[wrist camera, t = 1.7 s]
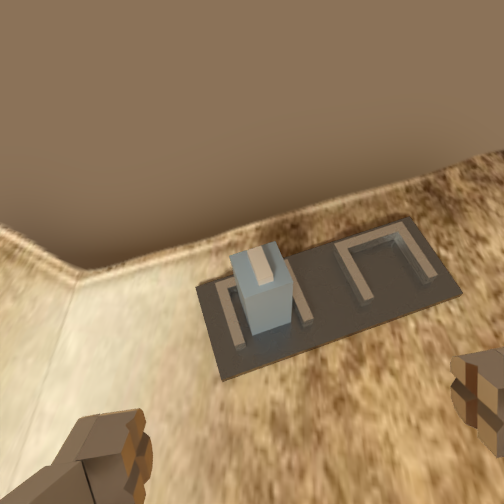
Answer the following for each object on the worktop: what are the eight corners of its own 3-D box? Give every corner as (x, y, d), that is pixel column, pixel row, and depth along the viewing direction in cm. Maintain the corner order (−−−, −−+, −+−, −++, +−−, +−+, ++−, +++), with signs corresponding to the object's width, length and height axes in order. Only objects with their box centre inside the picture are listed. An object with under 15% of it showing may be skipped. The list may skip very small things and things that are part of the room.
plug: (276, 287, 38) (275, 234, 30) (290, 322, 36) (293, 276, 28) (239, 299, 38) (227, 249, 29) (252, 335, 36) (243, 293, 27)
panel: (407, 220, 42) (413, 207, 40) (459, 296, 37) (470, 286, 35) (196, 290, 40) (192, 280, 38) (222, 381, 35) (218, 376, 33)
